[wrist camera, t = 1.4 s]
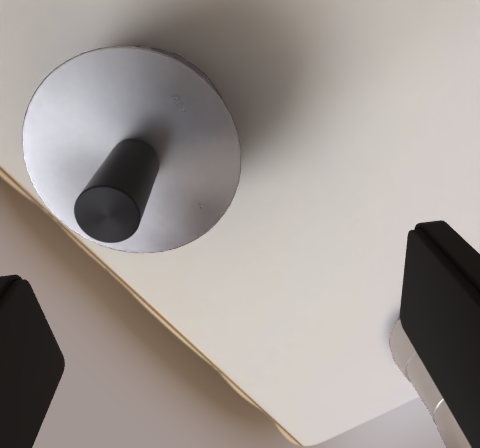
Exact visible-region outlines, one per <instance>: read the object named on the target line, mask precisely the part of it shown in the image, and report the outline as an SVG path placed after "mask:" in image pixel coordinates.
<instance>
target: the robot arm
mask: <svg viewBox="0 0 480 448" xmlns="http://www.w3.org/2000/svg"><path fill="white" fill-rule="evenodd" d="M400 321H401V325H402V328H403V330H404V332H405V333H406V335H407V337H408V338H409V340H410V342H411V344H412V345H413V347H414V349H415V351H416V352H417V354H418V356H419V358H420V359H421V361H422V363H423V364H424V366H425V368H426V370H427V371H428V373H429V375H430V377H431V378H432V380H433V382H434V383H435V385H436V387H437V389H438V390H439V392H440V394H441V396H442V397H443V399H444V401H445V403H446V404H447V406H448V408H449V409H450V411H451V413H452V415H453V416H454V418H455V420H456V422H457V423H458V425H459V427H460V428H461V430H462V432H463V434H464V435H465V437H466V439H467V441H468V442H469V444H470V446H471V448H480V254H479V253H478V252H477V251H476V250H475V249H474V248H472V247H471V246H470V245H469V244H468V243H467V242H466V241H465V240H464V239H463V238H462V237H461V236H460V235H459V234H458V233H457V232H456V231H454V230H453V229H452V228H451V227H450V226H449V225H448V224H447V223H446V222H444V221H433V222H425V223H418V224H417V225H416V227H415V230H411V231H409V233H408V238H407V248H406V258H405V268H404V278H403V288H402V298H401V308H400ZM64 367H65V362H64V357H63V354H62V352H61V350H60V348H59V346H58V344H57V341H56V339H55V337H54V335H53V333H52V331H51V329H50V326H49V324H48V322H47V320H46V318H45V316H44V313H43V311H42V309H41V307H40V305H39V303H38V301H37V298H36V296H35V294H34V292H33V290H32V287H31V285H30V284H29V282H28V281H27V280H22V278H21V277H19V276H18V275H10V276H1V277H0V448H32V446H33V444H34V442H35V439H36V437H37V435H38V432H39V430H40V427H41V425H42V422H43V420H44V418H45V415H46V413H47V410H48V408H49V405H50V403H51V400H52V398H53V396H54V393H55V391H56V388H57V386H58V384H59V381H60V379H61V377H62V374H63V371H64Z"/></svg>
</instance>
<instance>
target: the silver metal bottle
mask: <svg viewBox="0 0 480 448" xmlns="http://www.w3.org/2000/svg"><path fill="white" fill-rule="evenodd" d="M389 344H390V348H391V352H392V355H393V359H394V361H395V363H396V364H397V366H398V367H399V369H400V370H401V372H402V373H403V374H404V376H405V377H406V378H407V379H408V380H409V381H410V382H411V383H412V385H413V387H414V388H415V390H416V391H417V393H418V394H419V396H420V398H421V399H422V401H423V402H424V404H425V405H426V407H427V409H428V410H429V412H430V414H431V416H432V418H433V421H434V422H435V424H436V426H437V429H438V431H439V433H440V435H441V438H442V440H443V442H444V444H445V446H446V448H471V446H470V444H469V442H468V441H467V439H466V437H465V435H464V434H463V432H462V430H461V428H460V427H459V425H458V423H457V422H456V420H455V418H454V416H453V415H452V413H451V411H450V409H449V408H448V406H447V404H446V403H445V401H444V399H443V397H442V396H441V394H440V392H439V390H438V389H437V387H436V385H435V383H434V382H433V380H432V378H431V377H430V375H429V373H428V371H427V370H426V368H425V366H424V364H423V363H422V361H421V359H420V358H419V356H418V354H417V352H416V351H415V349H414V347H413V345H412V344H411V342H410V340H409V338H408V337H407V335H406V333H405V332H404V330H403V328H402V325H401V321H400V319H399V320H398V321H397V322H396V323H395V324H394V326H393V328H392V331H391V335H390V339H389Z"/></svg>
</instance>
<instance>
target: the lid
mask: <svg viewBox="0 0 480 448" xmlns="http://www.w3.org/2000/svg"><path fill="white" fill-rule="evenodd" d="M22 146H23V155H24V160H25V164H26V168H27V171H28V174H29V176H30V179H31V181H32V184H33V185H34V187H35V189H36V191H37V193H38V195H39V196H40V198H41V199H42V200H43V202H44V203H45V205H46V206H47V207H48V208H49V209H50V210H51V212H52V213H53V214H54V215H55V216H56V217H57V218H58V219H59V220H60V221H61V222H63V223H64V224H65V225H66V226H67V227H69V228H70V229H72V230H73V231H74V232H76V233H77V234H79V235H81V236H82V237H84V238H86V239H88V240H90V241H92V242H94V243H97V244H99V245H101V246H104V247H108V248H111V249H114V250H119V251H124V252H133V253H154V252H162V251H167V250H171V249H175V248H178V247H181V246H183V245H186V244H188V243H190V242H192V241H194V240H196V239H198V238H199V237H200V236H202V235H203V234H205V233H206V232H208V231H209V230H210V229H211V228H212V227H213V226H214V225H215V224H216V223H217V222H218V221H219V220H220V219H221V217H222V216H223V215H224V214H225V212H226V211H227V209H228V207H229V206H230V204H231V202H232V200H233V198H234V195H235V193H236V190H237V187H238V183H239V178H240V172H241V151H240V143H239V138H238V134H237V130H236V127H235V124H234V122H233V119H232V117H231V114H230V113H229V111H228V109H227V107H226V106H225V104H224V102H223V100H222V99H221V98H220V96H219V95H218V94H217V93H216V91H215V90H214V89H213V88H212V87H211V86H210V85H209V84H208V83H207V81H206V80H205V79H204V78H203V77H201V76H200V75H199V74H197V73H196V72H195V71H194V70H192V69H191V68H190V67H188V66H186V65H185V64H183V63H181V62H180V61H178V60H176V59H174V58H172V57H169V56H167V55H165V54H162V53H159V52H156V51H152V50H149V49H145V48H138V47H131V46H113V47H105V48H98V49H95V50H92V51H88V52H85V53H82V54H80V55H78V56H75V57H73V58H71V59H69V60H67V61H66V62H64V63H63V64H61V65H60V66H58V67H57V68H55V69H54V70H53V71H52V72H51V73H50V74H49V75H48V76H47V77H46V78H45V79H44V80H43V82H42V83H41V84H40V86H39V87H38V88H37V89H36V91H35V93H34V95H33V97H32V99H31V101H30V103H29V105H28V108H27V111H26V114H25V118H24V124H23V132H22Z"/></svg>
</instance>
